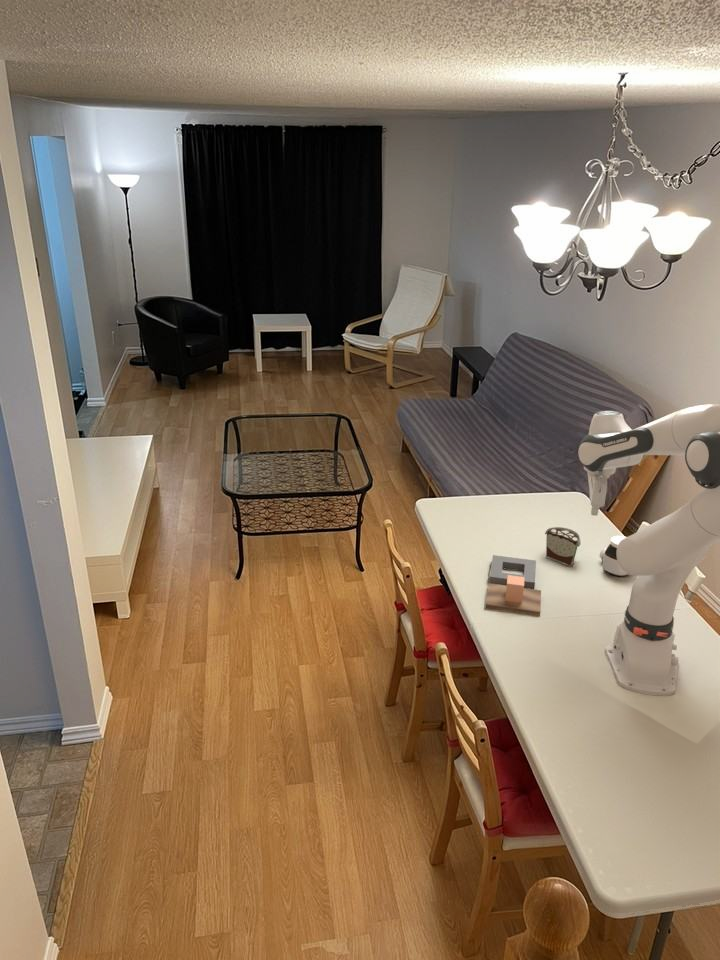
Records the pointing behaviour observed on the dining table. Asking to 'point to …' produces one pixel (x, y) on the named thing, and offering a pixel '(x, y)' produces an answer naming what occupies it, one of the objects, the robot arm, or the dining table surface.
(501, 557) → the pocket plate
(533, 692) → the dining table surface
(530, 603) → the walnut board
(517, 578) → the terracotta block
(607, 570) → the spread jar
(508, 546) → the dining table surface
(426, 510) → the dining table surface
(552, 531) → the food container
